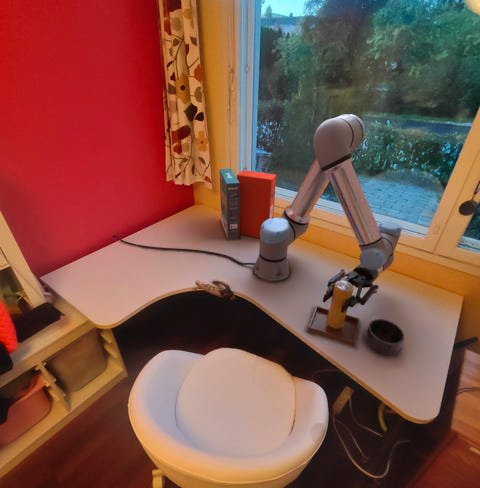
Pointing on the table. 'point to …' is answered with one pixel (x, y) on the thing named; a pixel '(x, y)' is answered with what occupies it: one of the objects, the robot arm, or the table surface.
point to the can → (339, 303)
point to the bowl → (384, 337)
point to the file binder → (255, 201)
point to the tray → (342, 334)
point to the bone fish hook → (217, 289)
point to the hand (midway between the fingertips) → (333, 303)
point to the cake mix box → (229, 203)
